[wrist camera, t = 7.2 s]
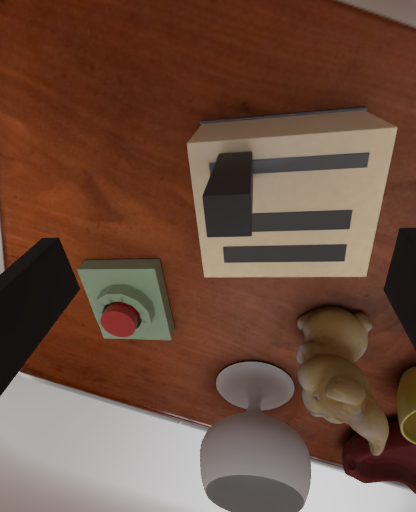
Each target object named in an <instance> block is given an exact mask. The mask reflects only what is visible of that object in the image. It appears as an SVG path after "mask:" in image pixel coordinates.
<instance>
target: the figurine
mask: <svg viewBox="0 0 416 512" xmlns="http://www.w3.org/2000/svg"><path fill="white" fill-rule="evenodd" d="M297 327H298V328H299V329H300V330H302V331H303V333H304V341H303V343H302V344H301V345H300V346H299V348H298V351H297V356H296V359H297V361H298V362H299V363H301V365H300V366H299V368H298V371H297V375H298V380H299V382H300V384H301V386H302V387H303V390H302V398H303V402H304V404H305V406H306V408H307V409H308V411H309V412H310V414H312V415H313V416H316V417H324V418H325V419H326V420H327V421H329V422H331V423H335V424H340V423H346V424H349V425H350V426H351V427H352V429H353V430H354V431H356V432H357V433H358V434H360V435H361V436H362V437H364V438H366V439H367V440H368V441H369V446H370V452H371V453H372V454H373V455H374V456H378V455H380V454H381V453H382V452H383V450H384V447H385V444H386V441H387V438H388V435H389V426H388V421H387V418H386V416H385V414H384V413H383V411H382V409H381V408H380V406H379V405H378V403H377V402H376V401H375V399H374V397H373V396H372V393H371V388H370V385H369V382H368V380H367V378H366V376H365V374H364V373H363V372H362V370H361V369H360V368H359V367H358V366H357V365H356V364H354V362H356V361H357V360H358V359H359V358H360V357H361V356H362V355H363V354H364V352H365V351H366V348H367V345H368V332H369V331H370V330H371V329H372V323H371V322H370V320H369V319H368V317H367V316H366V315H365V314H363V313H359V312H357V313H354V314H352V313H350V312H349V311H347V310H345V309H342V308H338V307H322V308H317V309H315V310H312V311H310V312H308V313H306V314H304V315H302V316H300V317H299V318H298V320H297Z"/></svg>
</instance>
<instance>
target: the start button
mask: <svg viewBox="0 0 416 512" xmlns="http://www.w3.org/2000/svg"><path fill="white" fill-rule="evenodd" d="M139 320H140V316H139V313H138V311H137V310H136V309H135V308H134V307H133V306H131V305H129V304H126V303H124V302H113V303H111V304H109V305H108V306H107V308H106V309H105V311H104V313H103V314H102V316H101V319H100V322H101V325H102V327H103V328H104V329H105V330H106V331H107V332H108V333H110V334H112V335H114V336H117V337H128V336H131V335H132V334H133V333H134V332H135V330H136V328H137V325H138V323H139Z"/></svg>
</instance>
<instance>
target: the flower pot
mask: <svg viewBox="0 0 416 512" xmlns="http://www.w3.org/2000/svg"><path fill="white" fill-rule="evenodd" d="M397 413H398V420H399V425H400V429H401V433H402V435H403V436H404V437H405V438H406V439H407V440H408V441H410V442H412V443H414V444H416V366H414V367H411V368H409V369H408V370H406V371H405V372H404V373H403V375H402V377H401V380H400V383H399V387H398V393H397Z"/></svg>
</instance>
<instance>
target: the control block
mask: <svg viewBox="0 0 416 512" xmlns="http://www.w3.org/2000/svg"><path fill="white" fill-rule="evenodd" d="M77 271H78V274H79V276H80V279H81V281H82V284H83V286H84V289H85V291H86V294H87V296H88V299H89V302H90V304H91V307H92V309H93V313H94V315H95V318H96V320H97V322H98V324H99V327H100V329H101V332H102V334H103V337H104V338H115V339H147V340H172V337H173V333H174V330H175V327H174V322H173V318H172V313H171V309H170V304H169V300H168V295H167V290H166V286H165V281H164V277H163V272H162V268H161V263H160V259H118V260H84V262H83V263H82V264H81V265H80V266H79V268H78V269H77ZM113 302H124V303H126V304H129V305H131V306H133V307H134V308H135V309H136V310H137V311H138V313H139V316H140V320H139V323H138V325H137V328H136V330H135V332H134V333H133V334H132V335H131V336H128V337H117V336H114V335H112V334H110V333H108V332H107V331H106V330H105V329H104V328H103V327H102V325H101V322H100V319H101V316H102V314H103V313H104V311H105V309H106V308H107V306H108V305H109V304H111V303H113Z"/></svg>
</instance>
